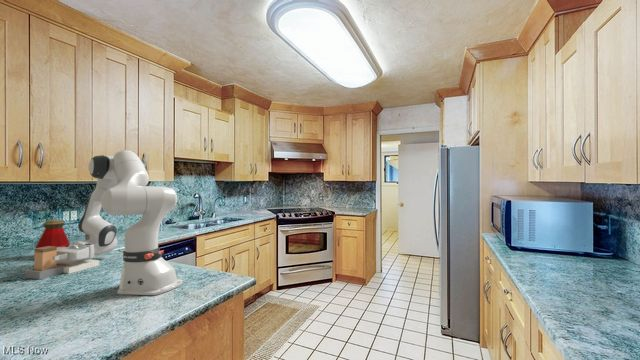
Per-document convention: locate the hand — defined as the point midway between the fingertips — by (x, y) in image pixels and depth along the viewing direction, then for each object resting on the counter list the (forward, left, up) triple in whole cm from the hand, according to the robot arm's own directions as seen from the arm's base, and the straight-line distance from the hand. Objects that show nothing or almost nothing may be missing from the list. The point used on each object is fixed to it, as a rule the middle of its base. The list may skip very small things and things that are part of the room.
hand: (45, 257), depth 121 cm
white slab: (+2, -6, -8) cm, 10 cm away
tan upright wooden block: (0, 0, -8) cm, 8 cm away
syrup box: (+30, -41, -8) cm, 51 cm away
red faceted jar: (+34, -23, -8) cm, 42 cm away
